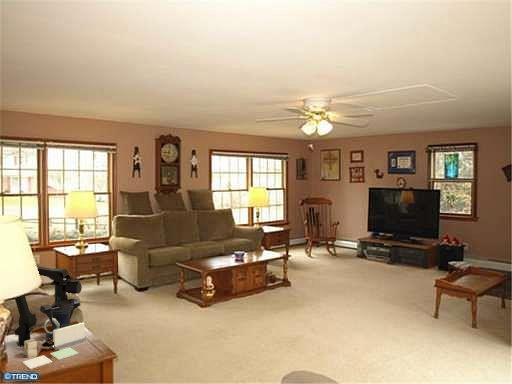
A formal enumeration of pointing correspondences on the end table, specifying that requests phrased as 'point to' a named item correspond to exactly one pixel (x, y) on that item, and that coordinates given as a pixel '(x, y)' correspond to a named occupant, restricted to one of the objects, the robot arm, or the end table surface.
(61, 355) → the sage mat
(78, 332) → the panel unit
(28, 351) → the block
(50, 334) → the watch
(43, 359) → the cream mat
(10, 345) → the end table surface
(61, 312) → the storage jar
